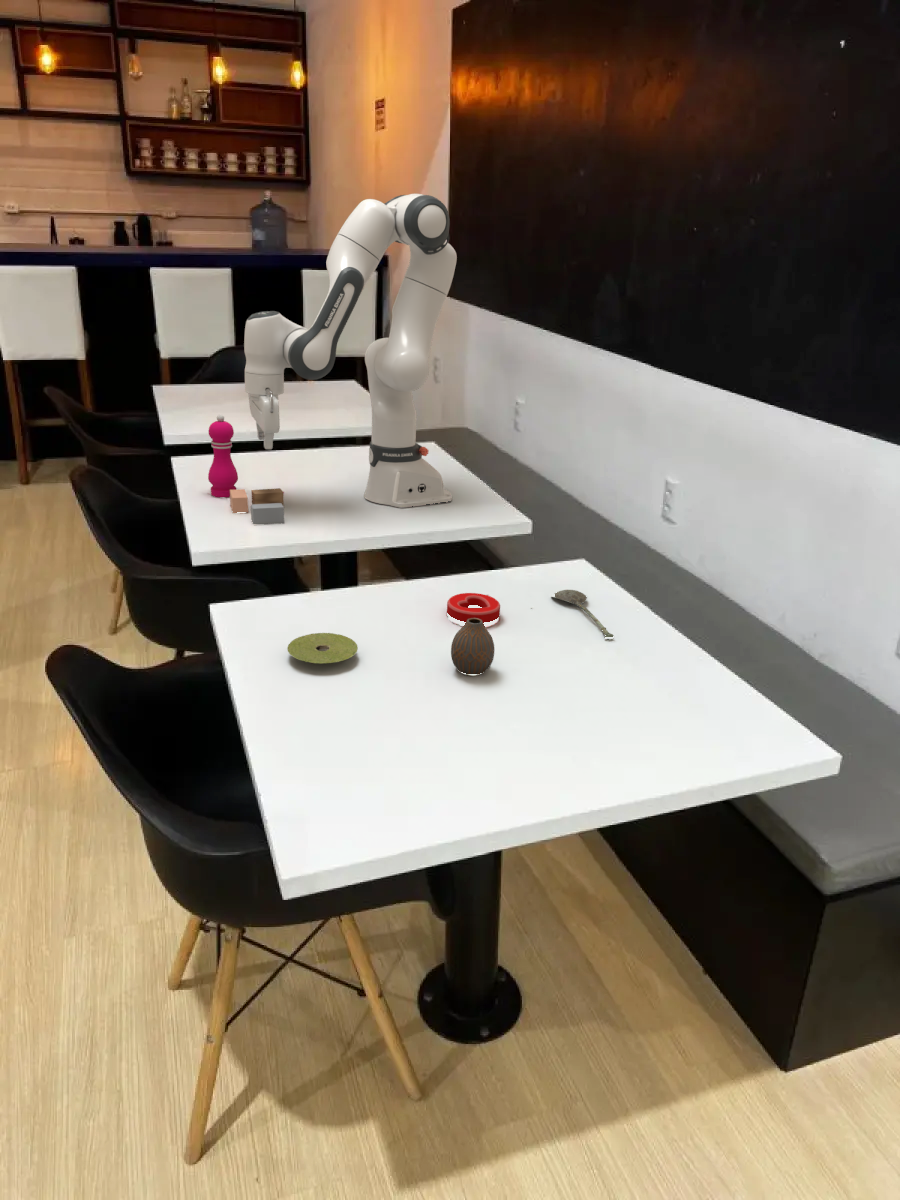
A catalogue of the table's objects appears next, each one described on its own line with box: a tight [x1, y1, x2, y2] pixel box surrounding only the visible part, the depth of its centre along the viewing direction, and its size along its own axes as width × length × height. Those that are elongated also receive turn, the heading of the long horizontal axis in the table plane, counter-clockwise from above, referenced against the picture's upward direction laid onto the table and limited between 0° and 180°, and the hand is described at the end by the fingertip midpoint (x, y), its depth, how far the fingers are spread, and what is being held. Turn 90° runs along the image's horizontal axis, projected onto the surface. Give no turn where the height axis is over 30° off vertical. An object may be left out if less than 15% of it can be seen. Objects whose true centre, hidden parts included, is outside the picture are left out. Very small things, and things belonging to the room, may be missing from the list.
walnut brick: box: [251, 487, 285, 508], centre depth 222 cm, size 7×4×4 cm, turn 113°
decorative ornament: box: [446, 592, 501, 623], centre depth 166 cm, size 10×10×3 cm
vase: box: [450, 618, 495, 674], centre depth 145 cm, size 7×7×9 cm
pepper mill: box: [207, 414, 239, 498], centre depth 226 cm, size 7×7×20 cm
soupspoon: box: [554, 589, 615, 638], centre depth 170 cm, size 22×3×7 cm
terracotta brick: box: [229, 488, 249, 514], centre depth 218 cm, size 7×4×4 cm, turn 17°
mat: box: [286, 632, 359, 664], centre depth 148 cm, size 11×11×2 cm
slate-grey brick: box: [250, 503, 285, 525], centre depth 211 cm, size 7×4×4 cm, turn 110°
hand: (264, 443), depth 216 cm, fingers open, 8 cm apart
